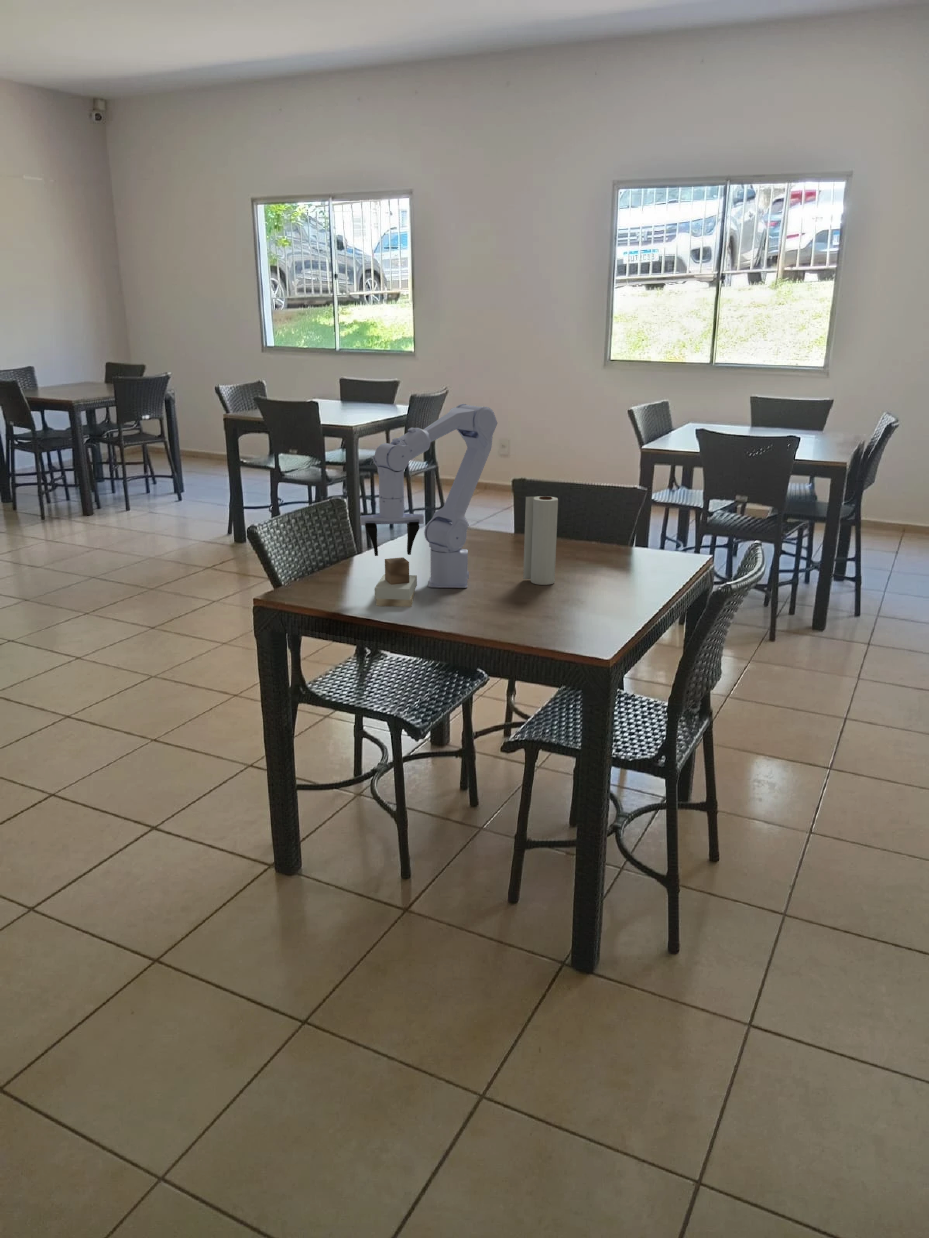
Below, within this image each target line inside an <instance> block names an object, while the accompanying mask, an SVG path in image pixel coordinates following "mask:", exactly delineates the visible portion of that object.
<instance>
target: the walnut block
mask: <svg viewBox="0 0 929 1238" xmlns="http://www.w3.org/2000/svg"><path fill="white" fill-rule="evenodd" d="M384 574H385V580H386V581H387V582H388V583H389V584H390V585H393V584H403V583H409V575H410V561H408V560H407V558H405V557H393V558H390V557H389V558H385V559H384Z"/></svg>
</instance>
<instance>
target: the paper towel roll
mask: <svg viewBox="0 0 929 1238" xmlns="http://www.w3.org/2000/svg"><path fill="white" fill-rule="evenodd" d="M558 498H559V497H556V496H546V495H545V496H541V495H539V496H538V495H537V496H525V513H524V516H525V517H524V542H523V543H524V545H523V546H524V547H523V548H524V549H523V550H524V551H523V573H522V574H523V576H522V577H523V580H530V582H531V583H532V584H533V585H540V586H546V585H547V586H548V585H552V584H553V585H554V583H555V580H556V579H555V578H556V559H557V558H556V556H557V555H556V554H557V535H558V534H557V531H558V530H557V529H558V511H559V510H558V509H559V499H558Z"/></svg>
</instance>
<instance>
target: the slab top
mask: <svg viewBox="0 0 929 1238" xmlns="http://www.w3.org/2000/svg"><path fill="white" fill-rule="evenodd" d="M417 586H418V576H417V575H411V574H409V583H403V584H393V585H390V584H389V583H388V582H387V581H386V580H385V573H384V574H383V575H382V577H380V580H379V581H378V582H377V584H376V586H375V587H374V599H375V600H376V599H400V600H410V598H411V596H412V594H413V592H414V590H415V591H416V589H417Z"/></svg>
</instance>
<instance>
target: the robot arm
mask: <svg viewBox="0 0 929 1238" xmlns="http://www.w3.org/2000/svg"><path fill="white" fill-rule="evenodd" d="M497 425H498V420H497V418H496V415H495V411H494V410H493V409H492V408H491V407H490V406H479V405H478V406H477V405H470V404H466V403H460V404H458V405H456V406H455V407H452V408H450V410H449V411H448V412H447V413H446V414H444V415H442V416H441V417H440V418H438V419H437V420H435V421H434V422H432V423H431V424H430V425H428V426H426V427H425V428H423V429H422V428H420V427H409V428H408V429H407V432H406V433H404V434H403V435H401V436H399V437H393V438H392V441H391V442H390V443H387V442H385V443H384V442H383V443H381V444H380V445H378V446H377V448H376V450H375V453H374V455H373V456H372V461H373V463H374V465H375V467H376V468H377V474H378V501H379V502H378V504H379V507H378V508H379V511H378V512H379V513H378V514H377V513H376V514H367V515H365V514H364V515H360V516H359V517H360V519H359V520H360V521H359V522H360V526H365V530H366V532H367V534H368V536H369V539H370V540H371V543H372V546H373V552H374V553H373V554H374V556H375V557H378V556H379V549H378V529H377V525H402V524H403V525H404V524H405V525H406V531H407V534H406V535H407V544H406V554H407V556H408V555H409V556H410V555H412V549H413V545H414V542H415V539H416V536H417V534H418V532H419V529H420V525H424V521H425V518H424V517H425V516H424V514H423V513H405V476H404V475H405V474H404V473H405V472H404V471H405V469H406V468H407V467H408V465H409V463H410V461H411V460H413V459H415V458H417V457H418V456H420V455H422V454H423V453H426V452H427V451H429V449H430V447H431V443H432V442H434V441H436V440H438V439H440V438H442V437H444V436H445V435H448V434H450V433H452V432H453V431H455V430H456V431H457V432H458V433H459V435H460V436H461V438H462V440H464V442H465V444H466V451H465V453H464V454H463V458H462V460H461V463H460V465H459V468H458V470H457V473H456V475H455V477H454V480H453V483H452V485H451V488H450V490H449V492H448V495H447V497H446V501H445V502H444V504H443V507H441V508H439V509H438V510H437V511H435V512H434V513H433V515H432V518H431V519H430V520H429V521H428V522H427V523H426V525H425V527H424V530H423V531H424V532H423V533H424V534H423V535H424V539H425V541H426V542H427V543H428V547H429V548H430V576H429V580H428V583H427V584H428V588H441V589H442V588H446V589H447V588H451V589H452V588H453V589H456V588H458V589H465V588H468V579H470V576H469V575H470V571H469V569H468V561H469V560H468V558H469V557H468V556H469V555H468V554H469V552H468V551H469V550H468V549H467V548H466V549H464V548H463V547H464V545H465V544H466V541H467V534H468V533H467V532H468V528H469V527H470V526H469V524H470V523H469V521H468V520H467V518H466V516H465V515H466V512H467V511H468V507H469V505H470V502H471V500H472V498H473V496H474V492H475V490H476V488H477V485H478V482H479V481H480V477H481V475H482V473H483V470H484V468H485V466H486V463H487V461H488V458H489V456H490V453H491V451H492V448H493V439H494V437H493V435H494V434H495V430H496V429H497Z"/></svg>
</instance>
